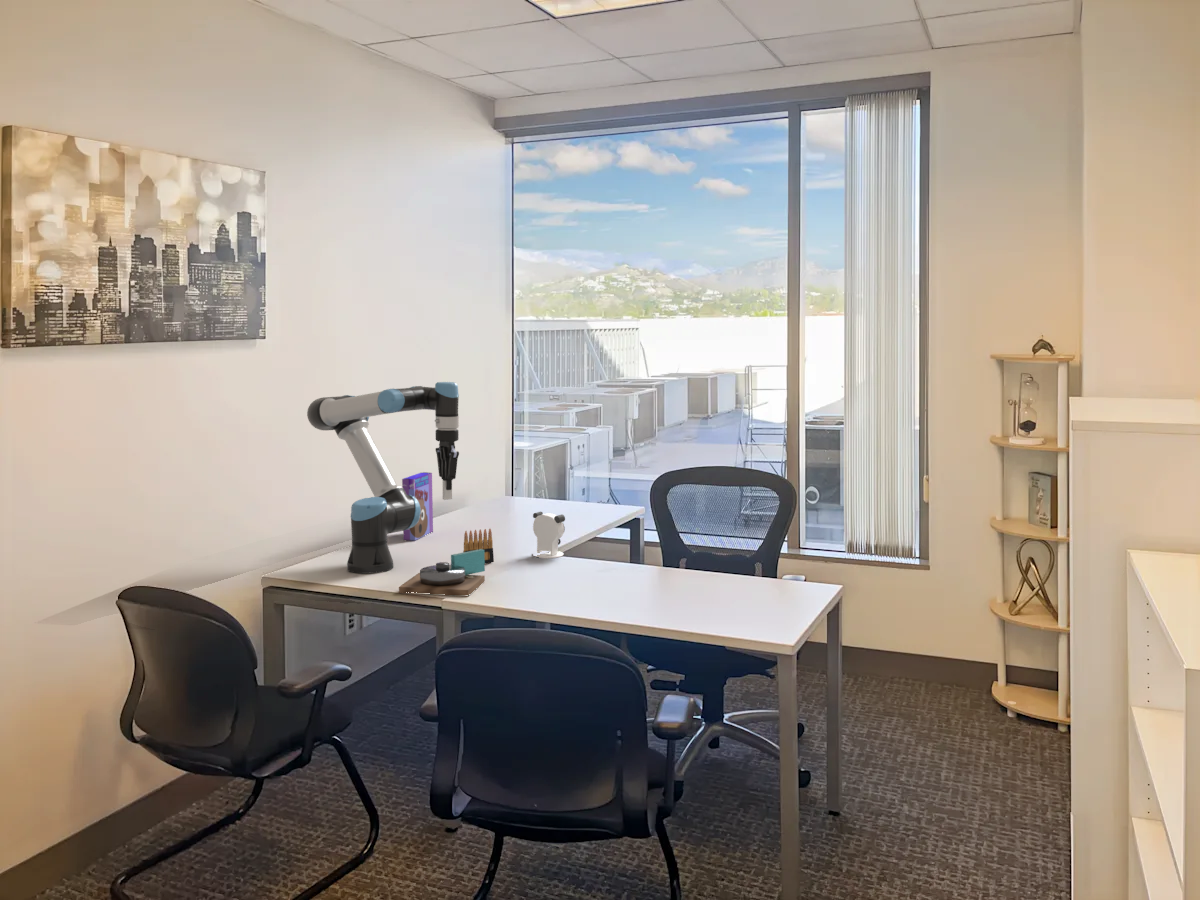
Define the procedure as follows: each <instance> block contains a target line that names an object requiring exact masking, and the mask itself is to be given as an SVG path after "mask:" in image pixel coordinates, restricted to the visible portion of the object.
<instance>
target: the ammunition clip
mask: <svg viewBox="0 0 1200 900" xmlns="http://www.w3.org/2000/svg"><path fill="white" fill-rule="evenodd" d="M463 536H464V537H463V550H462V553H463V552H468V551H473V550H479V549H483V550H484V552H485V564H492V563H491V562H495V561H494V560H495V559H494V558H495V557H494V556H495V555H494V548H493V547H494V545H493V533H492V529H491V528H489V529H488V533H487V529H486V528H484V530H483V533H482V529H479V531H478V532H477V529H475V530H474V531H473V532H472V530H471V529H470V530H469V535H468V532H467V530H465V531H464V535H463Z"/></svg>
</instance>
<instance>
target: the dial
mask: <svg viewBox="0 0 1200 900" xmlns="http://www.w3.org/2000/svg"><path fill="white" fill-rule="evenodd" d="M485 564H486V563H485V552H484V550H483V549H479V550H473V551H468V552H463V551H462V552H458V553H453V554H450V563H449V562H447V561H445V562H444V561H443V562H441V561H439V562H436V563H435V565H428V566H425V567H422V568H420V569H419V573H420V581H421V582H422V583H425V584H431V585H449V584H455V583H459V582H462V581H464V580H465V575H475V574H477V573H478V574H479V573H482V572H485V571H486V568H485V567H486V565H485Z"/></svg>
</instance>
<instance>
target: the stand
mask: <svg viewBox="0 0 1200 900" xmlns="http://www.w3.org/2000/svg"><path fill="white" fill-rule="evenodd" d="M485 577H486V575H478V574H477V575H475V574H469V575H465V580H464V581H462V582H459V583H455V584H449V585H431V584H425V583H422V582H421V581H420V572H417V574H415V575H414V576H411V578H409V579H408V580H407V581H405V582H404V583H403V584H401V585H400V586H399V587H398V593H399V594H404V593H406V592H407V593H408V592H409V593H411V592H414V593H416V592H417V593H430V594H445V595H444V596H447V595H469V594H471V593H472V592H473V591H474V590H475V589H476V588H477V589H478V588H479V586H480V585H481V584H482V583H483V582H484V581H485V582H486V578H485ZM485 582H484V583H485ZM484 583H483V584H484ZM483 584H482V585H483ZM482 585H481V586H482ZM481 586H480V587H481ZM477 589H476V590H477ZM476 590H475V591H476ZM475 591H474V592H475ZM474 592H473V593H474ZM473 593H472V594H473ZM472 594H471V595H472Z"/></svg>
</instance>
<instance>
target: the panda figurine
mask: <svg viewBox="0 0 1200 900" xmlns="http://www.w3.org/2000/svg"><path fill="white" fill-rule="evenodd" d="M532 517H533V519H534V520H533V523H532V525H533V526H532V530H533V533H534V535H535V536H536V543H537V544H536V552H537V553H540V552H542V551H550V552H549V553H545V554H540V555H537V556H536V557H539V558H538V559H557V558H561V557H563V556H564V552H562V551H558V549H559V545H560V544H561V538H562V537H563V535H564V533H565V529H566V527H565V524H564V522H565V521H566V516H565V515H564V514H554V513H550V512H549V513H543V511H537V512H535V513H533V514H532ZM536 557H535V558H536Z"/></svg>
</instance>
